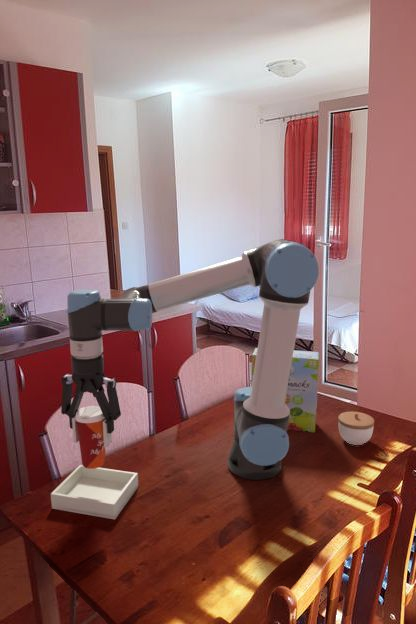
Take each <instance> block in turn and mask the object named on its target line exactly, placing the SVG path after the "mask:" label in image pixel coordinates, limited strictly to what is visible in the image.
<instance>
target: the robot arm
mask: <svg viewBox="0 0 416 624" xmlns="http://www.w3.org/2000/svg"><path fill="white" fill-rule="evenodd" d="M319 270H320V267H319V263H318V260H317V258H316V256H315V254H314V253H313V252H312V250H310V248H308V247H307V246H306V245H304V244H302V243H300V242H298V241H297V242H296V241H293V240H289V239H285V238H284V239H283V238H281V239H275V240H272V241H269V242H267V243H265V244H262V245H260V246H257V247H254V248H251V249H248V250H244V251H243V253H242V254H241V256H239V257H235V258H231V259H229V260H225V261H222V262H218V263H215V264H212V265H209V266H206V267H201V268H198V269H196V270H193V271H188V272H184V273H182V274H178V275H175V276H172V277H169V278H166V279H162V280H158V281H155V282H152V283H148V284H146V285H141V286H133V287H130V288H128V289H126V290H125V291H124V292H122V294H121V296H120V297H119V298H101V297H102V296H101V295H100V291H99V290H97V289H89V288H88V289H86V288H85V289H83V288H82V289H76V290H72V291H70V292H69V293H68V294H67V297H66V298H67V304H66V305H67V310H66V313H67V320H68V321H67V322H68V333H69V334H68V335H69V346H70V347H69V349H70V355H71V357H70V362H71V363H70V365H71V371H72V373H71V374H70V373H66V374H65V375H64V376H62V377H61V378H60V379H61V385H62V393H61V408H60V412H61V414H62V415H66V416H68V420H69V428H70V429H72V439H73V443H75V444H77V443H79V436H78V429H77V422H76V420H75V416H76V412H77V411H78V410H79V409H80V405H81V402H82V401H83V400H82V399H83V397H84V393H90V394H92V396H93V397H94V398H95V400H96V403H97V404H98V406H99V407H100V409H101V411H102V413H103V416H104V418H105V420H104V421H103V437H104V447H105V448H107V447H109V446H110V444H111V443H112V442H113V440H112V439H113V436H112V433H114V431H115V421H116V420H118V419H119V418H120V417H121V416H122V412H121V406H120V403H119V397H118V392H117V379H116V378H115V377H113V378H108V377H106V375H105V373H104V371H105V370H104V368H105V362H104V354H102V353H103V352H104V345H103V333H102V332H104V331H105V332H106V331H120V332H121V331H122V332H124V331H131V332H132V331H135V332H139V331H147V330H150V329H151V328H152V325H153V314H154V313H157V312H160V311H163V310H167V309H171V308H175V307H178V306H180V305H185V304H188V303H192V302H194V301H198V300H201V299H204V298H209V297H211V296H215V295H218V294H222V293H226V292H228V291H232V290H236V289H238V288H243V287H246V286H251V287H253V288H256V287H259V293H258V297H259V299H260V300H261V302H262V303H263V310H262V315H261V323H260V329H259V336H258V337H259V338H258V343H257V348H258V349H257V356H256V362H255V369H254V376H253V383H252V387H251V386H244V387H240V388H238V389H237V390H235V391H234V397H233V402H234V406H233V408H234V411H233V412H234V415H233V417H234V421H233V426H234V427H233V428H234V429H233V432H234V433H233V434H234V435H233V438H234V439H233V442H232V444H231V448H230V451H229V454H228V458H227V467H228V469H229V470H230V472H231V473H232V474H234V475H235V476H237V477H239V478H242V479H245V480H253V481H257V480H259V481H260V480H267V479H271V478H274V477H275V476H276V475H278V474H279V473H280V471H281V470H282V460H283V459H284V458H285V457H286V456H287V453H288V452H289V448H290V441H289V440H290V437H289V435H288V433H287V432H288V430H287V426H288V420H289V414H290V410H289V408H288V407H287V405H286V404H285V400H286V394H287V388H288V382H289V376H290V370H291V364H292V358H293V352H294V350H295V345H296V340H297V339H296V338H297V333H298V327H299V320H300V316H301V314H300V313H301V310H302V309H303V308H304V307H306V306H307V305H308V304H309V300H310V295H311V291H312V289H313V288H314V287H315V285H316V284H317V281H318V279H319V274H320V271H319ZM73 383H74V384H75V386H76V387H75V390H74V392H73ZM103 384H105V388H104V385H103ZM105 389H106V393H105ZM73 393H74V395H72V394H73ZM106 394H107V395H106ZM72 396H73V397H72ZM72 398H73V399H72Z"/></svg>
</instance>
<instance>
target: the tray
mask: <svg viewBox="0 0 416 624" xmlns="http://www.w3.org/2000/svg"><path fill="white" fill-rule="evenodd" d="M138 488H139V473H138V472H133V471H127V470H126V471H124V470H118V469H111V468H105V467H99V468H95V469H88V468H85V467H84V466H83V464H79V465H78V466H77V467H76V468H75V469H74V470H73V471H72V472H71V473H70V474H69V475H68V476H66V478H65V479H64V480H63V481H62V482H61V483H60V484H59V485H58V486H57V487H56V488H55V489H54V490H53V491H52V492H51V493H50V501H51V509H54V510H58V511H64V512H70V513H76V514H82V515H86V516H87V515H88V516H92V517H99V518H105V519H111V520H116V519H117V517H118V516H119V515H120V513H121V512H122V510H123V509H124V508H125V506H126V505H127V503H128V502H129V500H130V499H131V498H132V496H133V495H134V494H135V492H136V491H137V489H138Z"/></svg>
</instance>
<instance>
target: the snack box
mask: <svg viewBox="0 0 416 624" xmlns="http://www.w3.org/2000/svg"><path fill="white" fill-rule="evenodd" d="M257 349H258V347H254V350H253V353H252V354H251V371H250V372H251V380H250V381H251V383H250V384H251V385H250V387H252V383H253V376H254V369H255V362H256V356H257ZM319 368H320V352H319V351H311V350H310V351H308V350H295V349H294V352H293V358H292V364H291V370H290V376H289V382H288V388H287V394H286V400H285V404H286V405H287V407H288V408H289V410H290V414H289V420H288V426H287V431H297V432H305V431H308V432H307V433H316V425H317V424H316V422H317V408H318V407H317V406H318V390H319V389H318V388H319Z"/></svg>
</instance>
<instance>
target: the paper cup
mask: <svg viewBox="0 0 416 624" xmlns="http://www.w3.org/2000/svg"><path fill="white" fill-rule="evenodd" d="M75 420H76V422H77V429H78V436H79V441H78V443H79V450H80V457H81V462H82V464H81V465H83V466H84V467H85V468H88V469H95V468H102V467H103V466H104V465H105V463H106V447H104V437H103V421H104V420H105V418H104V416H103V413H102V411H101V409H100V407H99V405H88V406H83V407H81V408H78V411H77V412H76V416H75Z"/></svg>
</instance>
